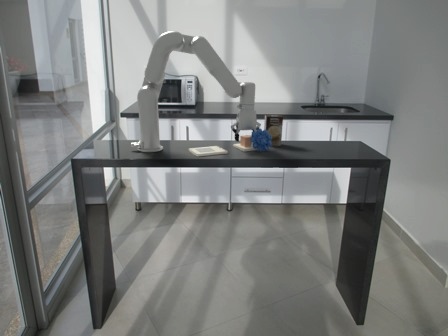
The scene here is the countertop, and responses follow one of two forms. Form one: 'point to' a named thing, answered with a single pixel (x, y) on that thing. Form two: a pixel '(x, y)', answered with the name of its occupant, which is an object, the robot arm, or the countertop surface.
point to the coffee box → (274, 128)
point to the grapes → (261, 140)
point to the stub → (245, 144)
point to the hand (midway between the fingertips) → (245, 140)
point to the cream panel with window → (208, 151)
